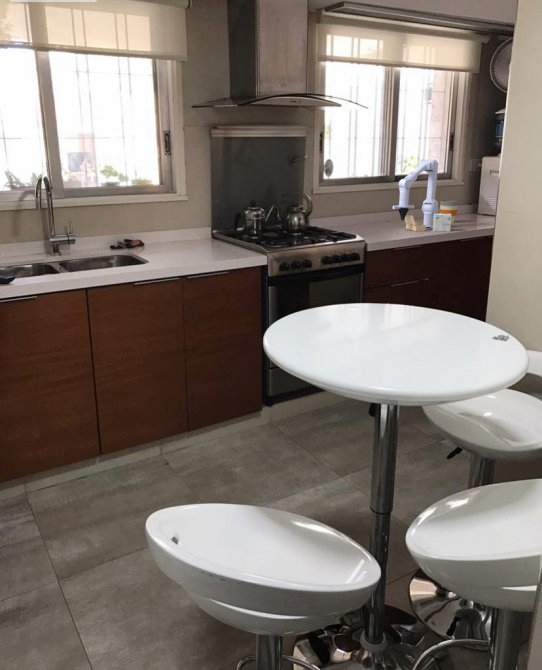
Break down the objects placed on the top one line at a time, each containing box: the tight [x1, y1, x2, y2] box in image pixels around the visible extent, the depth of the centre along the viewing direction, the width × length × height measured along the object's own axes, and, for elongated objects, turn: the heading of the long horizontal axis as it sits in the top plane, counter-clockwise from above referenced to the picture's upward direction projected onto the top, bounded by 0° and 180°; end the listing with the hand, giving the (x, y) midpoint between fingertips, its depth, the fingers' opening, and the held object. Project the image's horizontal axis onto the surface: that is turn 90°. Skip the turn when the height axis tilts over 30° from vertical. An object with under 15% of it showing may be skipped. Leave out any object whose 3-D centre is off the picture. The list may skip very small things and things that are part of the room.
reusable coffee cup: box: [439, 199, 459, 223], centre depth 422 cm, size 13×13×15 cm
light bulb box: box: [432, 213, 452, 232], centre depth 384 cm, size 11×7×11 cm, turn 84°
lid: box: [404, 214, 417, 226], centre depth 384 cm, size 13×6×1 cm
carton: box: [405, 222, 427, 232], centre depth 387 cm, size 13×7×4 cm, turn 17°
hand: (402, 220), depth 383 cm, fingers closed
